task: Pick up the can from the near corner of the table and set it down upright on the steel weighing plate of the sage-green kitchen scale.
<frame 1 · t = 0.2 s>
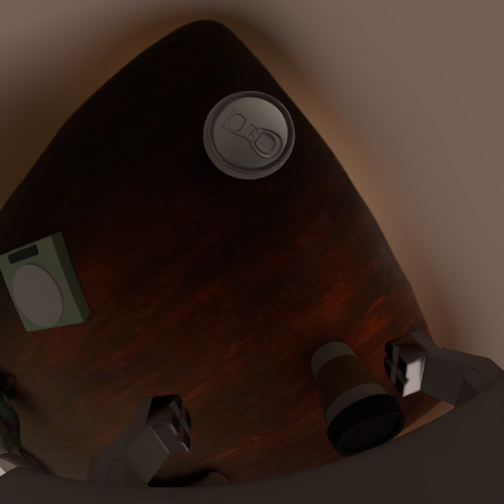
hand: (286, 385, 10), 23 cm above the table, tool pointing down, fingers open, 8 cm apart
can: (241, 145, 29), on the table
bird figurine: (6, 381, 36), on the table
vase: (188, 484, 46), on the table
bowl: (30, 459, 43), on the table
coffee cup: (330, 357, 38), on the table
scale: (45, 281, 31), on the table
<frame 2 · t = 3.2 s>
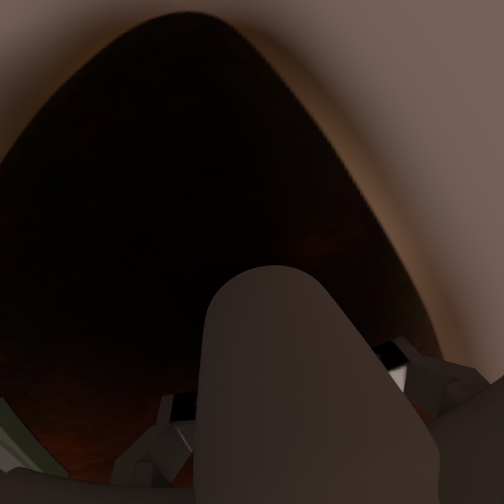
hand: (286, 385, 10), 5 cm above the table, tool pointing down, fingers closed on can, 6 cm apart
can: (268, 320, 15), on the table, touching gripper
scale: (5, 433, 17), on the table
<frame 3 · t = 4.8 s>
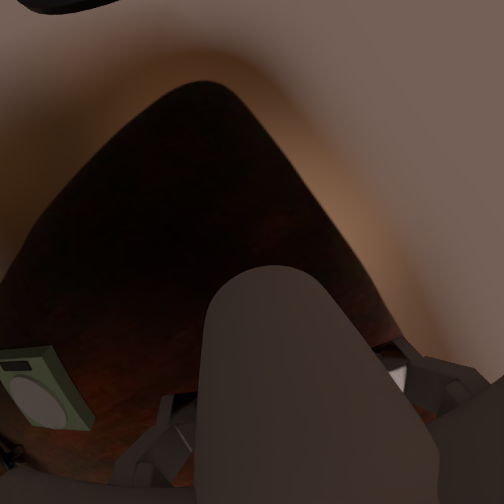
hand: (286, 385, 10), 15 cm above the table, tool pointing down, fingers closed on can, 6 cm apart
can: (268, 320, 15), point 10 cm above the table, touching gripper
bird figurine: (14, 447, 30), on the table
scale: (43, 385, 26), on the table
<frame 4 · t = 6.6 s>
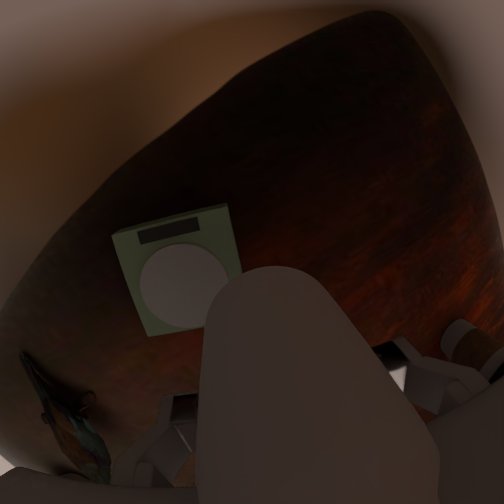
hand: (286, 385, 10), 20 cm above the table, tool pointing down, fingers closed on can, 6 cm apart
can: (269, 321, 15), point 15 cm above the table, touching gripper
bird figurine: (75, 399, 33), on the table
bowl: (82, 480, 41), on the table
coffee cup: (453, 334, 36), on the table
scale: (185, 268, 29), on the table
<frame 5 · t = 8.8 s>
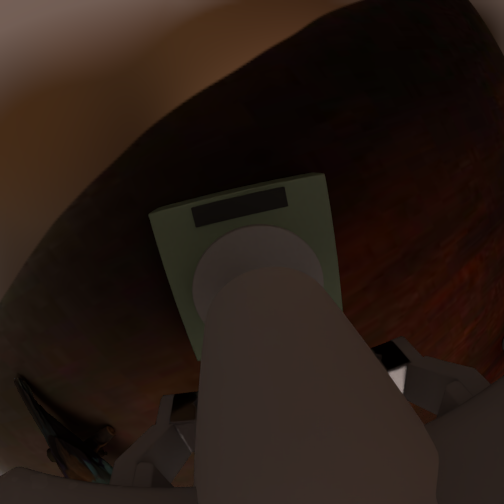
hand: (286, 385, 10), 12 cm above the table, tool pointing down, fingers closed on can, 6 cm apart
can: (269, 321, 15), point 7 cm above the table, touching gripper
bird figurine: (89, 433, 26), on the table
scale: (252, 264, 21), on the table
when the fingers open (8 cm above the table, at t = 10.4 s): can stays where it is, resting on scale.
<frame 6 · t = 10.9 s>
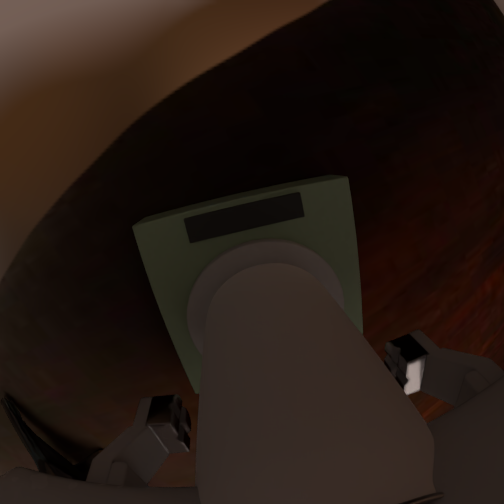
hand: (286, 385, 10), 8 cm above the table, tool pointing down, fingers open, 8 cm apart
can: (268, 317, 15), point 3 cm above the table, touching scale
bird figurine: (81, 454, 22), on the table
scale: (258, 283, 18), on the table
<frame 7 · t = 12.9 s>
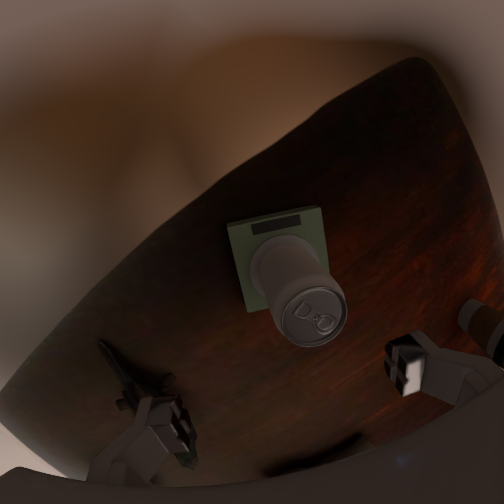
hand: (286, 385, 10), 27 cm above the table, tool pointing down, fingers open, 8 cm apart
can: (285, 268, 35), point 3 cm above the table, touching scale
bird figurine: (151, 384, 41), on the table
vase: (327, 457, 51), on the table
coffee cup: (466, 312, 44), on the table
scale: (279, 256, 37), on the table
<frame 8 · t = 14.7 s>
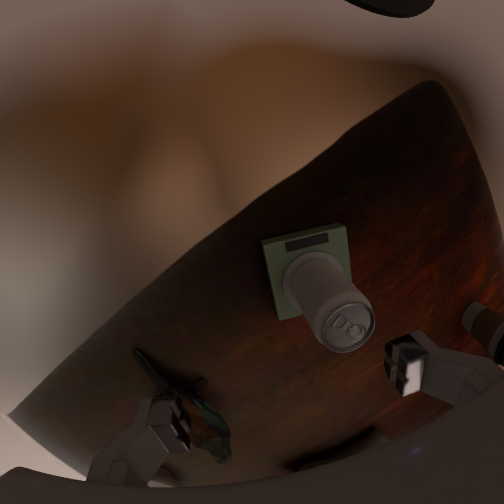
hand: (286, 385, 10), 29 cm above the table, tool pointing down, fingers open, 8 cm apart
can: (314, 281, 38), point 3 cm above the table, touching scale
bird figurine: (183, 387, 45), on the table
vase: (342, 450, 55), on the table
bowl: (154, 471, 53), on the table
coffee cup: (470, 314, 47), on the table
scale: (307, 268, 40), on the table
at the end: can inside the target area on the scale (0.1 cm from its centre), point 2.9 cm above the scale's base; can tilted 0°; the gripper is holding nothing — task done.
